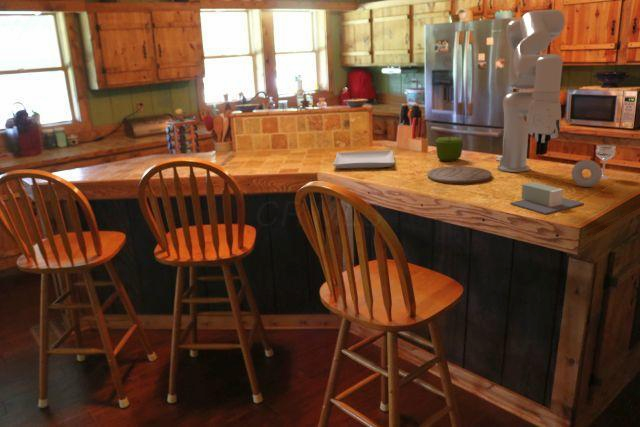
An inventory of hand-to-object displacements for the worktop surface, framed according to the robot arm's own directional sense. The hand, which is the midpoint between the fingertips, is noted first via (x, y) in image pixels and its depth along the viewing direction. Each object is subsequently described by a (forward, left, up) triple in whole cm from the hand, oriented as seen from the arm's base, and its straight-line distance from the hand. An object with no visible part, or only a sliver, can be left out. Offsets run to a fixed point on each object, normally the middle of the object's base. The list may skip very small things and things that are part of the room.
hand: (541, 153), depth 173 cm
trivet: (-42, +4, -17) cm, 45 cm away
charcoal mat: (+4, 0, -16) cm, 17 cm away
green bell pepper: (-69, +22, -16) cm, 74 cm away
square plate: (-88, -12, -17) cm, 90 cm away
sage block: (-4, 0, -13) cm, 14 cm away
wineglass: (-8, +45, -16) cm, 48 cm away
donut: (-3, +28, -16) cm, 32 cm away
